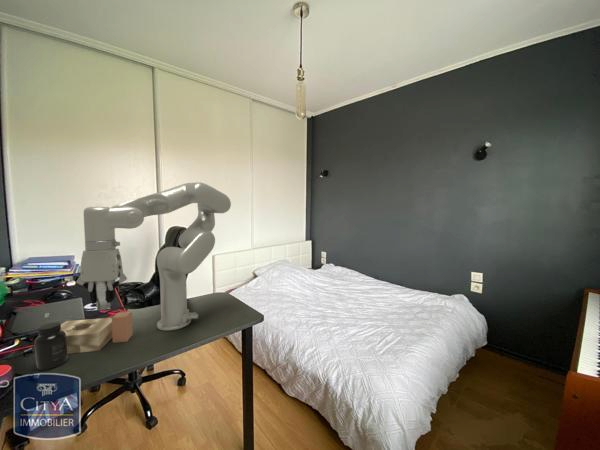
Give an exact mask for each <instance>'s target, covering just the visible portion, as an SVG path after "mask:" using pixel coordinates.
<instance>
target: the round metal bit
mask: <svg viewBox="0 0 600 450" xmlns="http://www.w3.org/2000/svg"><path fill="white" fill-rule="evenodd" d="M95 285H96V303H95V305H96V306H95V307H96V311H105V310H108V309H111V302H110V303H107V291H108V284H107V281H98V282H95Z"/></svg>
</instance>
